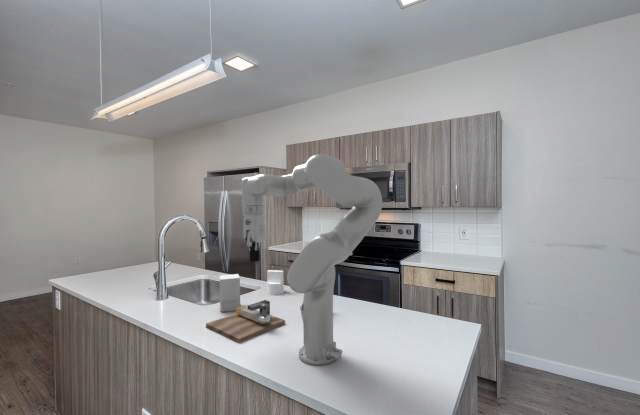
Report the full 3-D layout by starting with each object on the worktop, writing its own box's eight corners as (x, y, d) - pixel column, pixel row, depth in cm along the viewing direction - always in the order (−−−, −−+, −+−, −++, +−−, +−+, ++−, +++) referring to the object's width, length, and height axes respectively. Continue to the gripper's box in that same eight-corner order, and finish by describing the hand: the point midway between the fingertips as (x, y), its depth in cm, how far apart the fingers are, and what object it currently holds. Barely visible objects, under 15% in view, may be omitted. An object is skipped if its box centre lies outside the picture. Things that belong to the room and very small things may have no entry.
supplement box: (239, 304, 148) (239, 273, 148) (240, 310, 139) (240, 277, 139) (220, 306, 145) (219, 274, 145) (219, 312, 136) (219, 279, 136)
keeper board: (285, 323, 123) (284, 304, 123) (239, 343, 106) (238, 320, 106) (251, 311, 137) (251, 294, 137) (206, 327, 120) (205, 307, 120)
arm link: (272, 323, 119) (272, 304, 119) (263, 327, 115) (263, 307, 115) (243, 312, 131) (243, 295, 131) (234, 315, 128) (234, 297, 128)
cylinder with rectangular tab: (285, 290, 170) (285, 269, 170) (280, 295, 161) (280, 273, 161) (270, 289, 172) (270, 268, 172) (264, 294, 163) (264, 272, 163)
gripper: (254, 210, 103) (257, 264, 103) (269, 210, 117) (271, 257, 117) (234, 211, 104) (236, 265, 104) (251, 211, 119) (253, 257, 119)
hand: (254, 261), depth 111 cm, fingers closed
